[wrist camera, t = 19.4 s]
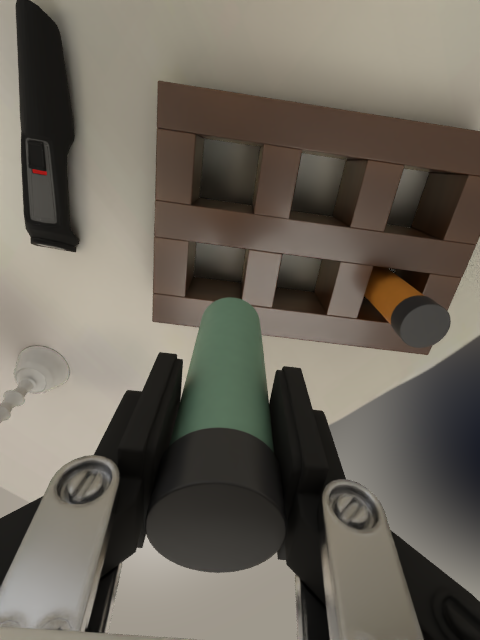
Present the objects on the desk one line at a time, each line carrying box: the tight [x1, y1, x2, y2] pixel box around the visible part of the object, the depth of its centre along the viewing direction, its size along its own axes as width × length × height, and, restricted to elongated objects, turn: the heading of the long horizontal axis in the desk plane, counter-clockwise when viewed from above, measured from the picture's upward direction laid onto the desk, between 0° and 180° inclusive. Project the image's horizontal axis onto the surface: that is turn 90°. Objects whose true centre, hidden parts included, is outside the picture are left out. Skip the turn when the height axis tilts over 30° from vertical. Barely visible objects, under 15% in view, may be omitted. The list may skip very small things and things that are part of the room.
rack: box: [152, 81, 480, 355], centre depth 25 cm, size 16×22×5 cm
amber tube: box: [364, 266, 450, 348], centre depth 25 cm, size 3×3×10 cm
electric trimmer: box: [16, 0, 79, 252], centre depth 24 cm, size 4×16×3 cm, turn 169°
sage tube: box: [145, 297, 287, 573], centre depth 12 cm, size 3×3×10 cm
